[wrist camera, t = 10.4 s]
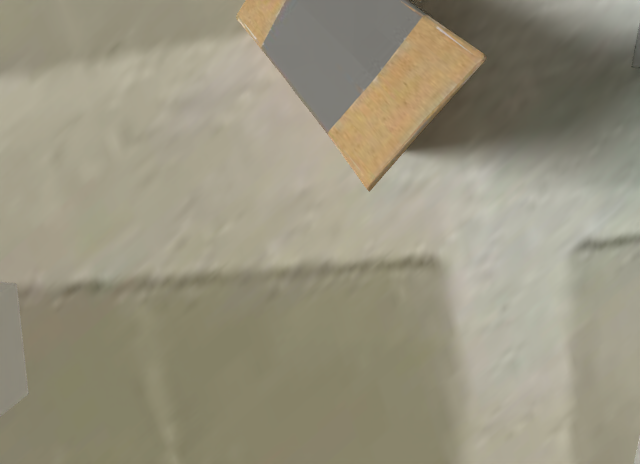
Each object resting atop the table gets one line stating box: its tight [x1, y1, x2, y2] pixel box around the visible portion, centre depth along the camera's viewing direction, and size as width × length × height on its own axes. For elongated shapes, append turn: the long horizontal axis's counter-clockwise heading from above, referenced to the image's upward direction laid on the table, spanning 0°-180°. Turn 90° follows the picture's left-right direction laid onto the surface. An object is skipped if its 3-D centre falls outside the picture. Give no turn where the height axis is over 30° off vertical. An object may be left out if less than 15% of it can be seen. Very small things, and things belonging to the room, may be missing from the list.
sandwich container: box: [236, 0, 487, 192], centre depth 34 cm, size 9×15×15 cm, turn 50°
